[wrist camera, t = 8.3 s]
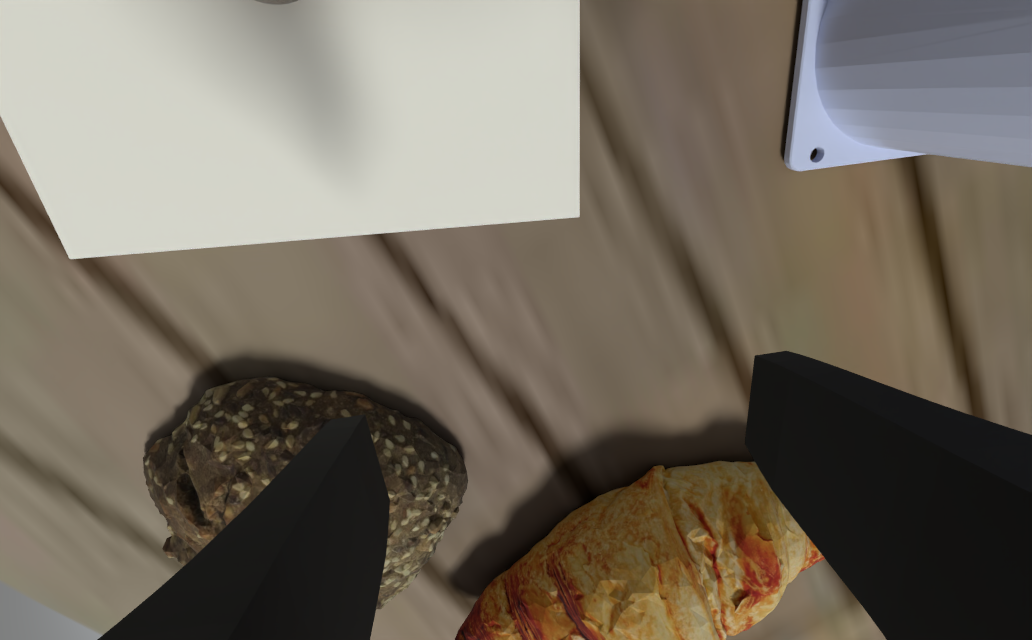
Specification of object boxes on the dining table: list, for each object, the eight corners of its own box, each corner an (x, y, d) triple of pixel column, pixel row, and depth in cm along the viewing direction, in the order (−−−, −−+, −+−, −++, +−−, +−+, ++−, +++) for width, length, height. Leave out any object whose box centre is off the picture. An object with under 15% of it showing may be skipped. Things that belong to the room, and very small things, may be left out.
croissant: (785, 381, 27) (883, 402, 19) (869, 553, 26) (1005, 650, 18) (437, 531, 28) (391, 610, 20) (509, 698, 28) (491, 847, 20)
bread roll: (503, 457, 23) (513, 546, 18) (362, 611, 26) (341, 718, 22) (236, 310, 19) (164, 378, 14) (109, 516, 22) (18, 624, 17)
